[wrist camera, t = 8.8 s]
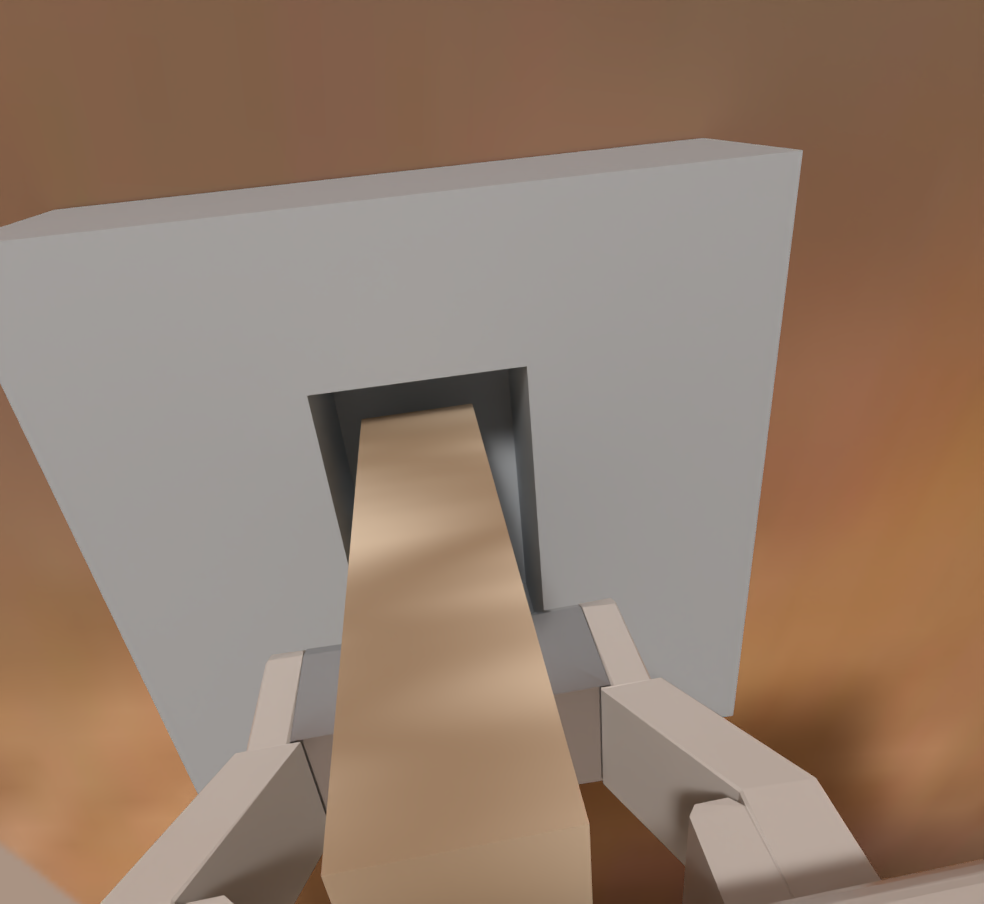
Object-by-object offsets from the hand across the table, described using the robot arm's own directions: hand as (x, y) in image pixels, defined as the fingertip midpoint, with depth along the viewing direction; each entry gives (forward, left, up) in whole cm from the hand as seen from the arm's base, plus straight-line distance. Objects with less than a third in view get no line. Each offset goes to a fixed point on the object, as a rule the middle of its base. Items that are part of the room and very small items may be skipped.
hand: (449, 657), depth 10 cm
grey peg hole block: (0, 0, -6) cm, 6 cm away
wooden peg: (0, 0, -4) cm, 4 cm away
